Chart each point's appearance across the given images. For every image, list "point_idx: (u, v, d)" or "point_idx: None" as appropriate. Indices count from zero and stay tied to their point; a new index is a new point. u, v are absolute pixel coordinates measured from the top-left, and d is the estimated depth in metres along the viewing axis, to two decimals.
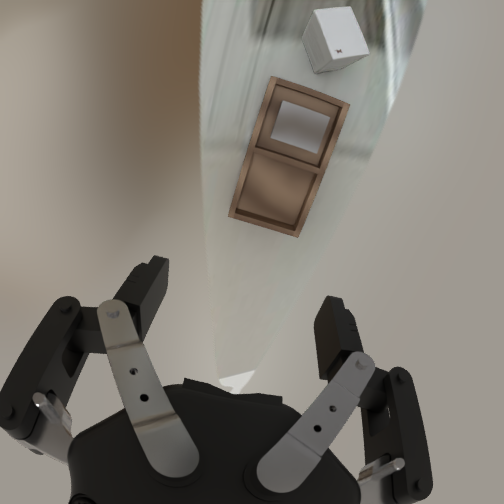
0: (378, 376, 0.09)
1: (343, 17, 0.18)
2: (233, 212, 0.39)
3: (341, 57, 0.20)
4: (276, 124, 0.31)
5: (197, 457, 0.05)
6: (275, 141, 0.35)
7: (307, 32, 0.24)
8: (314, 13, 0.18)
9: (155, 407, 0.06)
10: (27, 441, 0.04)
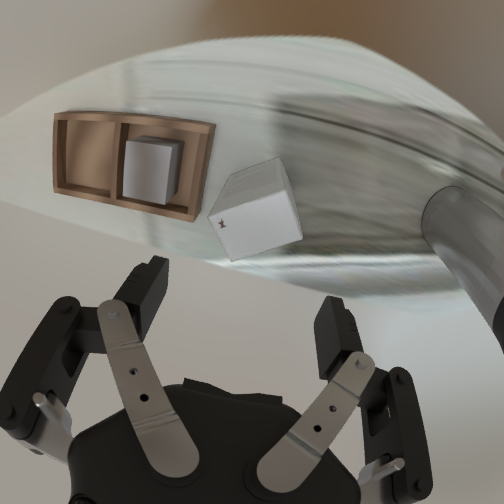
0: (378, 376, 0.09)
1: (280, 230, 0.20)
2: (58, 118, 0.24)
3: (213, 227, 0.20)
4: (142, 144, 0.24)
5: (197, 457, 0.05)
6: None
7: (273, 170, 0.24)
8: (280, 190, 0.18)
9: (155, 407, 0.06)
10: (27, 441, 0.04)
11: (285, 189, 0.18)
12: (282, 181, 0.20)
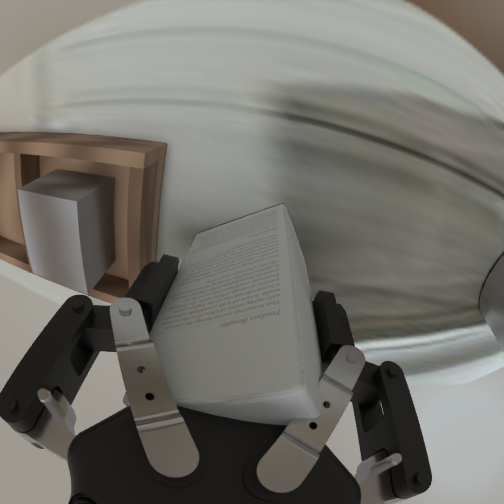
0: (369, 370, 0.10)
1: None
2: None
3: None
4: (36, 196, 0.11)
5: (197, 459, 0.05)
6: None
7: (272, 251, 0.12)
8: (288, 383, 0.06)
9: (160, 407, 0.06)
10: (28, 435, 0.04)
11: (303, 380, 0.06)
12: (294, 325, 0.08)
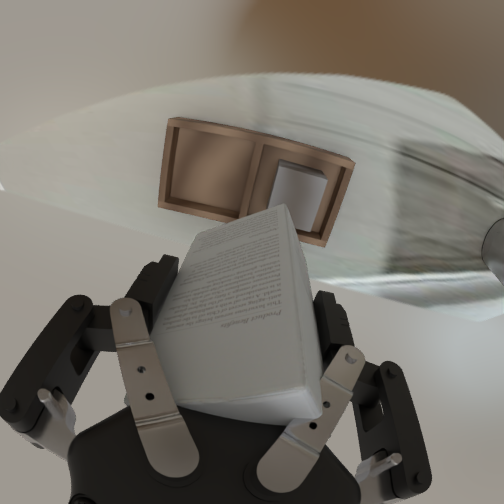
0: (369, 370, 0.10)
1: None
2: (174, 125, 0.27)
3: None
4: (297, 172, 0.26)
5: (197, 459, 0.05)
6: (271, 164, 0.30)
7: (273, 251, 0.12)
8: (289, 383, 0.06)
9: (160, 407, 0.06)
10: (28, 435, 0.04)
11: (305, 380, 0.06)
12: (295, 325, 0.08)
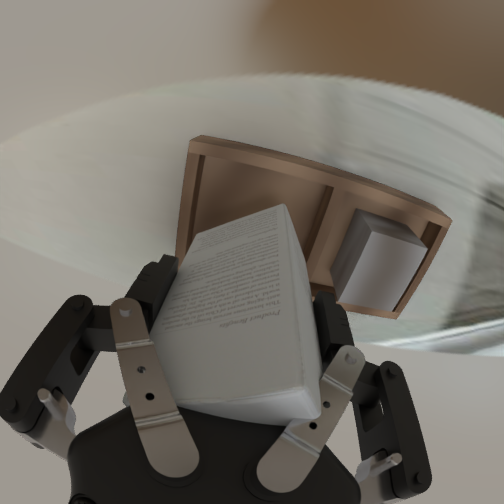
0: (369, 370, 0.10)
1: None
2: (200, 151, 0.17)
3: None
4: (393, 240, 0.17)
5: (197, 459, 0.05)
6: (344, 216, 0.20)
7: (272, 251, 0.12)
8: (288, 384, 0.06)
9: (160, 407, 0.06)
10: (28, 435, 0.04)
11: (303, 380, 0.06)
12: (294, 325, 0.08)
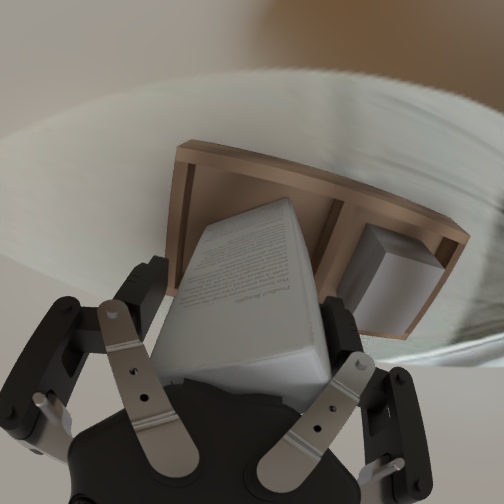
0: (378, 376, 0.09)
1: (293, 401, 0.08)
2: (189, 160, 0.14)
3: None
4: (409, 262, 0.14)
5: (197, 457, 0.05)
6: (353, 231, 0.18)
7: (280, 238, 0.13)
8: (300, 344, 0.07)
9: (155, 407, 0.06)
10: (27, 441, 0.04)
11: (313, 341, 0.07)
12: (303, 297, 0.09)
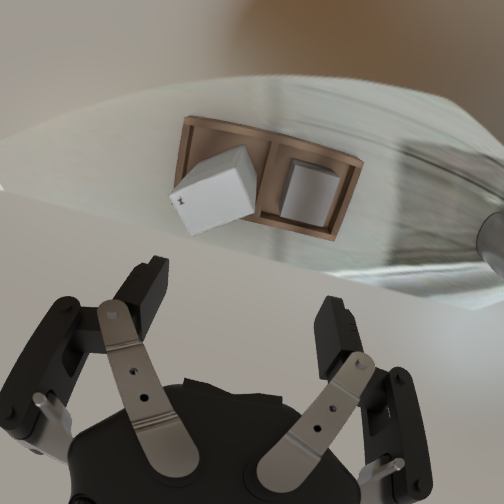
0: (378, 376, 0.09)
1: (232, 205, 0.21)
2: (191, 123, 0.27)
3: (173, 204, 0.21)
4: (312, 171, 0.27)
5: (197, 457, 0.05)
6: (284, 163, 0.31)
7: (233, 153, 0.26)
8: (230, 168, 0.20)
9: (155, 408, 0.06)
10: (27, 441, 0.04)
11: (235, 167, 0.20)
12: (235, 161, 0.22)
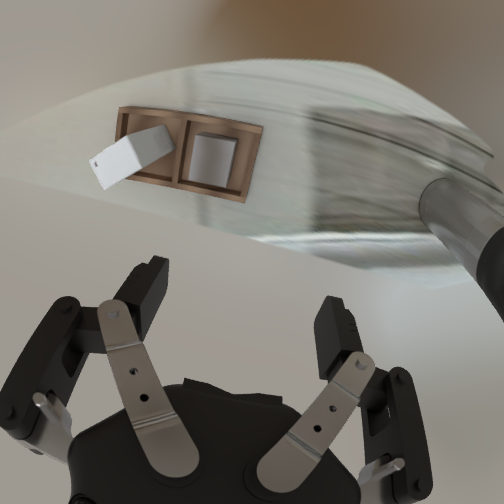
0: (378, 376, 0.09)
1: (126, 163, 0.26)
2: (123, 111, 0.32)
3: (92, 167, 0.26)
4: (209, 138, 0.32)
5: (197, 457, 0.05)
6: None
7: None
8: (124, 136, 0.24)
9: (155, 408, 0.06)
10: (27, 441, 0.04)
11: (127, 135, 0.24)
12: (134, 133, 0.26)
